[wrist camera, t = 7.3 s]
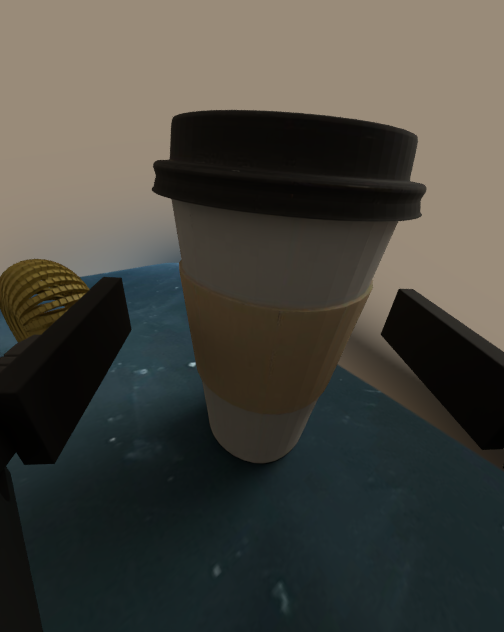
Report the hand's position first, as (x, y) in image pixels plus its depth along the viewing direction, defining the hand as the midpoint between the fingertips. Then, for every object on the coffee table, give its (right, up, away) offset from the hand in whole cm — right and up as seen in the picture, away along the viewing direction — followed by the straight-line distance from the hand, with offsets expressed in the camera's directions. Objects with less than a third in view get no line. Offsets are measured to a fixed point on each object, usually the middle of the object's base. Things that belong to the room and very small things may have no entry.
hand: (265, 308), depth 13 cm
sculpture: (-14, -4, +7) cm, 16 cm away
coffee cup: (0, -7, +4) cm, 8 cm away
